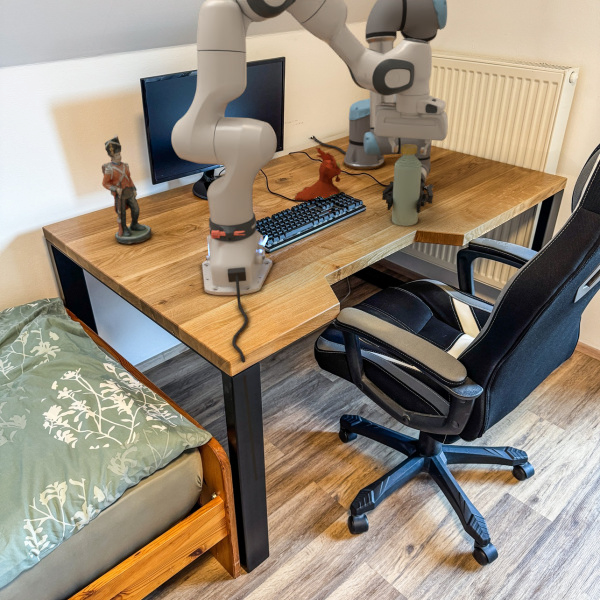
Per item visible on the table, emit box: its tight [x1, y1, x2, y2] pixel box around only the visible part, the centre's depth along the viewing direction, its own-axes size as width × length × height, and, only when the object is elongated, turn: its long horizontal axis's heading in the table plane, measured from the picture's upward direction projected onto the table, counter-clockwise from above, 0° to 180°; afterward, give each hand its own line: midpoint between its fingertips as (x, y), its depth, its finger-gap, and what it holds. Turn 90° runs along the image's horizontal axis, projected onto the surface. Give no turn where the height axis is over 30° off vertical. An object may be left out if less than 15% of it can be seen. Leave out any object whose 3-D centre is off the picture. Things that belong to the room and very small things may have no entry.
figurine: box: [101, 134, 152, 245], centre depth 160 cm, size 11×11×30 cm
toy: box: [294, 147, 342, 202], centre depth 188 cm, size 13×18×15 cm
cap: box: [401, 144, 417, 155], centre depth 160 cm, size 5×5×2 cm
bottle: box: [391, 154, 422, 227], centre depth 166 cm, size 8×8×22 cm
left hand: (408, 153), depth 160 cm, fingers open, 7 cm apart
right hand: (403, 207), depth 164 cm, fingers closed on bottle, 8 cm apart
